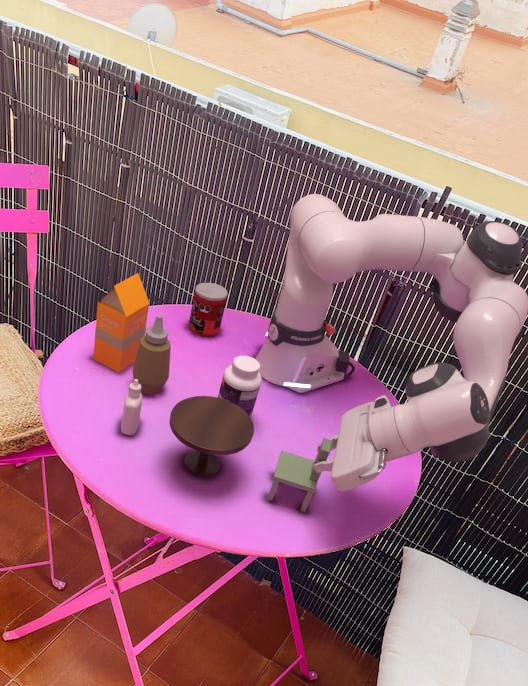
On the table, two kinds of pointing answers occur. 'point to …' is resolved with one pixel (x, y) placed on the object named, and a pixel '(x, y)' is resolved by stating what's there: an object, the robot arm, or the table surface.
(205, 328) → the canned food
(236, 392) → the pill bottle
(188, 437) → the little table
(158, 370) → the squeeze bottle
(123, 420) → the eye dropper bottle
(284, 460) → the chair
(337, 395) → the table surface
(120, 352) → the orange juice
